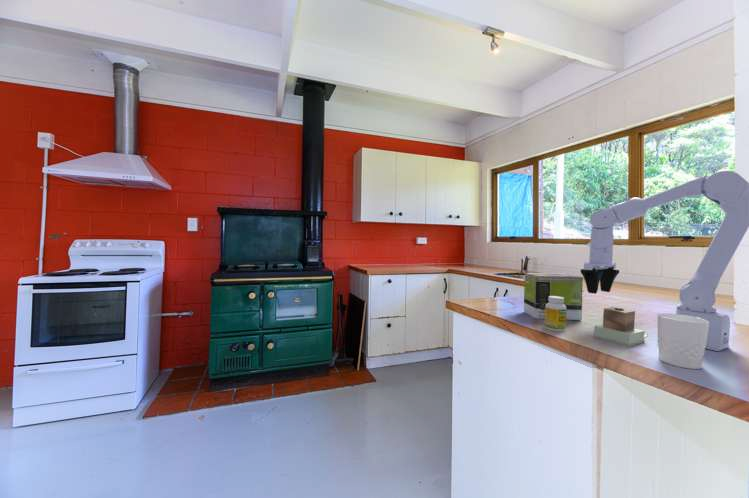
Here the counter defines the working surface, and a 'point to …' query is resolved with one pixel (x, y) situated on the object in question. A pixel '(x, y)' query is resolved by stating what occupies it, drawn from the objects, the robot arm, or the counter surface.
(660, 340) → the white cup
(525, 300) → the tea box
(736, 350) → the counter surface
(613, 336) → the base brick
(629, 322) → the walnut brick
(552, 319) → the supplement bottle
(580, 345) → the counter surface
